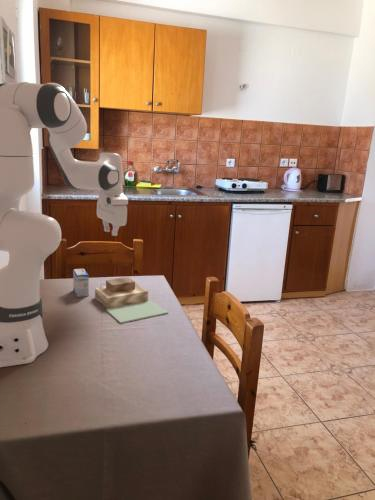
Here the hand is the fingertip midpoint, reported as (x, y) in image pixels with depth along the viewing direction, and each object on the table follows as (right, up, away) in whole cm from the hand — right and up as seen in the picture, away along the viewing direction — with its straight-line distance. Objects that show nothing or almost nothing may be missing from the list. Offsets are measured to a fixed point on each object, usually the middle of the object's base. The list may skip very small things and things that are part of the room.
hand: (110, 233), depth 156 cm
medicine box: (-12, -23, +2) cm, 26 cm away
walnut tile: (+4, -21, -2) cm, 21 cm away
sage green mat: (+12, -28, -13) cm, 33 cm away
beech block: (+4, -25, -2) cm, 25 cm away
